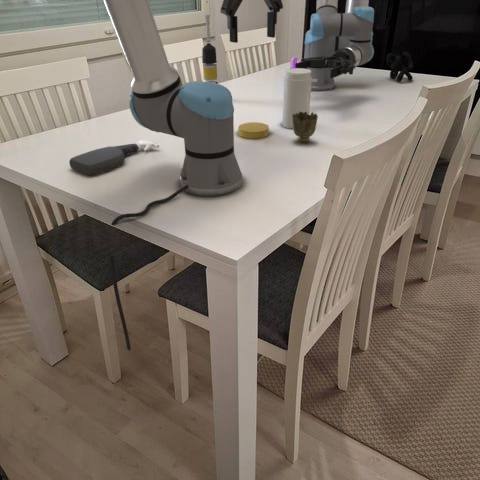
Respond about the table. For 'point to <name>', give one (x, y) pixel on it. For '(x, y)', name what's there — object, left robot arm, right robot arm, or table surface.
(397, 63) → the squiggle
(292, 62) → the bracket
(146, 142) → the spray bottle
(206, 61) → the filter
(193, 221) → the table surface
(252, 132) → the lid
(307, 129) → the cup
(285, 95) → the jar
